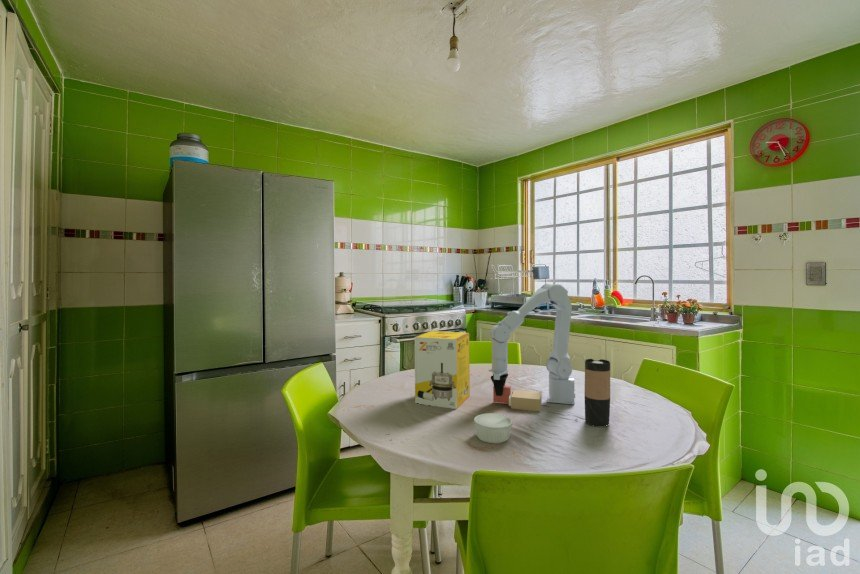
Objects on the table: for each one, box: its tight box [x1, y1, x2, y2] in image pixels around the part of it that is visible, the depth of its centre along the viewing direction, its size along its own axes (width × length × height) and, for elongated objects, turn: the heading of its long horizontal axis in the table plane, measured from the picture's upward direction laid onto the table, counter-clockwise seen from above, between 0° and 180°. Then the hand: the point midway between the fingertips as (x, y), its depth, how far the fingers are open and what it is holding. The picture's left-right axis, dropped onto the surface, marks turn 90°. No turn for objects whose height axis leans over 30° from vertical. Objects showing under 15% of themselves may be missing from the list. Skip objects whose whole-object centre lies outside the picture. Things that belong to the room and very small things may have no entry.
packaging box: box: [414, 330, 471, 410], centre depth 154 cm, size 16×16×25 cm
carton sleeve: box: [510, 389, 543, 412], centre depth 146 cm, size 10×9×4 cm
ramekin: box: [473, 412, 513, 444], centre depth 119 cm, size 11×11×5 cm
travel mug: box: [584, 358, 611, 427], centre depth 129 cm, size 8×8×20 cm
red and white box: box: [492, 385, 513, 407], centre depth 148 cm, size 15×8×6 cm, turn 72°
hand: (499, 394), depth 149 cm, fingers closed on red and white box, 2 cm apart
